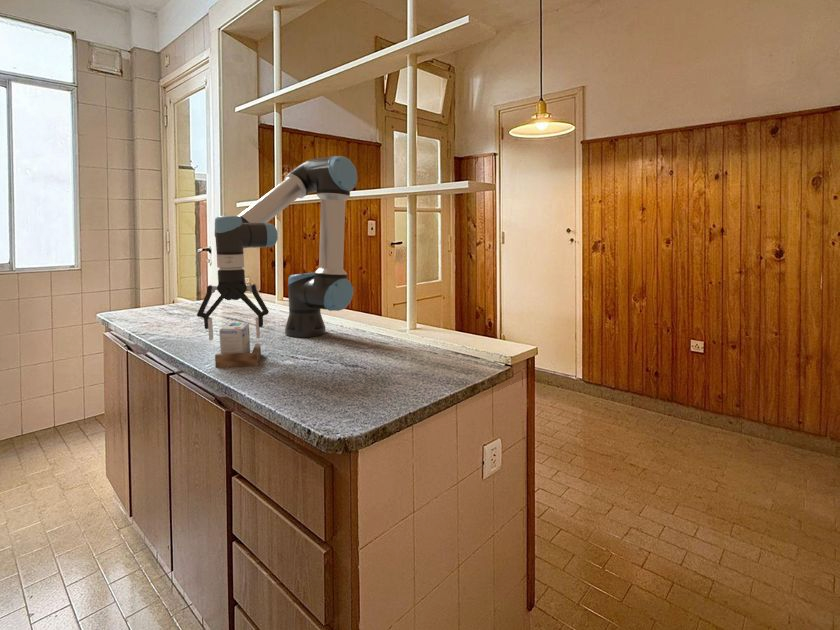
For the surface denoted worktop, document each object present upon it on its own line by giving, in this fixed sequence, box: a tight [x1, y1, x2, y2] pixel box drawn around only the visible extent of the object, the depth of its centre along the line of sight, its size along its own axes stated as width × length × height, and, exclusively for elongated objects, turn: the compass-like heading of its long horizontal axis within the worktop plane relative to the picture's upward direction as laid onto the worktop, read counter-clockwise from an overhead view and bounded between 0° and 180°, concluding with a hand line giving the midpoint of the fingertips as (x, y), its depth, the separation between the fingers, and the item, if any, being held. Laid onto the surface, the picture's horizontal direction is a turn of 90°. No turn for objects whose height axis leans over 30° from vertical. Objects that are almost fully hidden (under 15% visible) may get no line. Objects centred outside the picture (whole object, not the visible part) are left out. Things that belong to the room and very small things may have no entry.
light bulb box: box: [218, 322, 251, 354], centre depth 157 cm, size 11×7×11 cm, turn 7°
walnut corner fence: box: [214, 343, 262, 368], centre depth 157 cm, size 12×14×4 cm
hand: (235, 338), depth 157 cm, fingers open, 13 cm apart
